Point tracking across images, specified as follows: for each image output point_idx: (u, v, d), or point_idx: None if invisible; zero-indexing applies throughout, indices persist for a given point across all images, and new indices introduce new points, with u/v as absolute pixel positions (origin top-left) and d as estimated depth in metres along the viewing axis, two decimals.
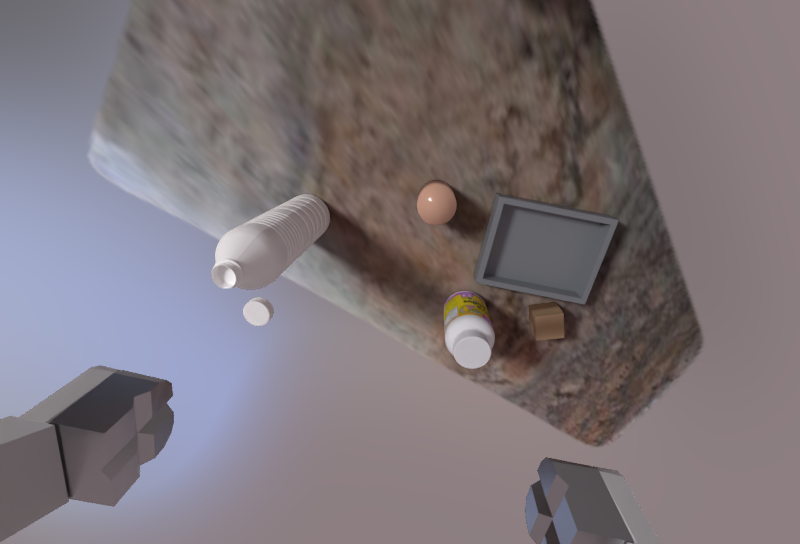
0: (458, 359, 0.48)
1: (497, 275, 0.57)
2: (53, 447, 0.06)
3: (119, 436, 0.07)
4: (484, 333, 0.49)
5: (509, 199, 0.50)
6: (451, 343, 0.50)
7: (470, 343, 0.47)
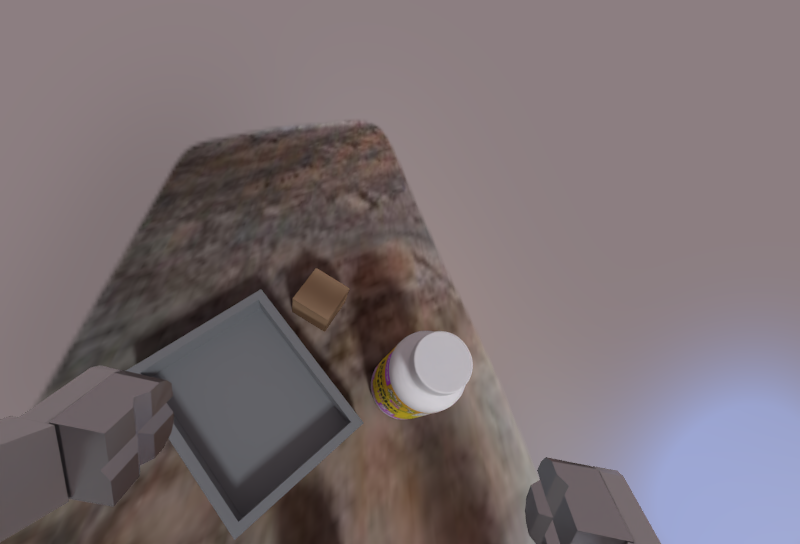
0: (469, 365, 0.29)
1: (330, 403, 0.36)
2: (53, 447, 0.06)
3: (119, 436, 0.07)
4: (405, 367, 0.30)
5: (226, 522, 0.29)
6: None
7: (437, 378, 0.28)
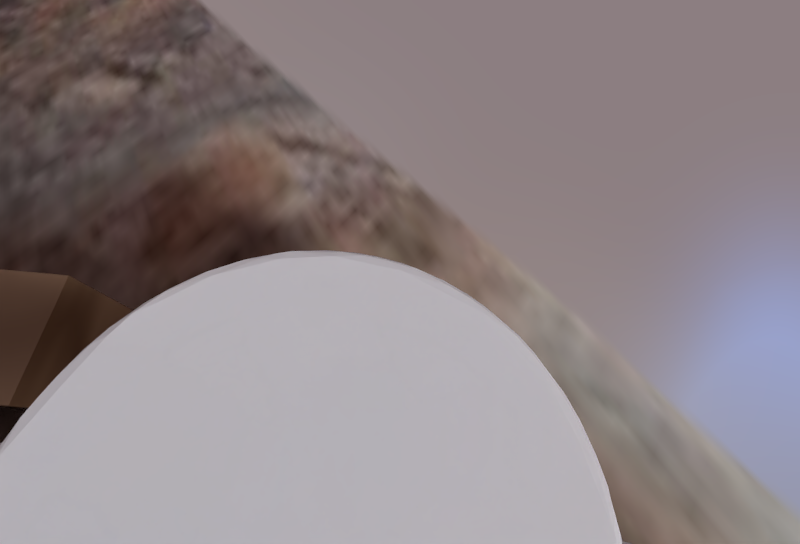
0: (559, 453, 0.03)
1: None
2: None
3: None
4: None
5: None
6: None
7: None
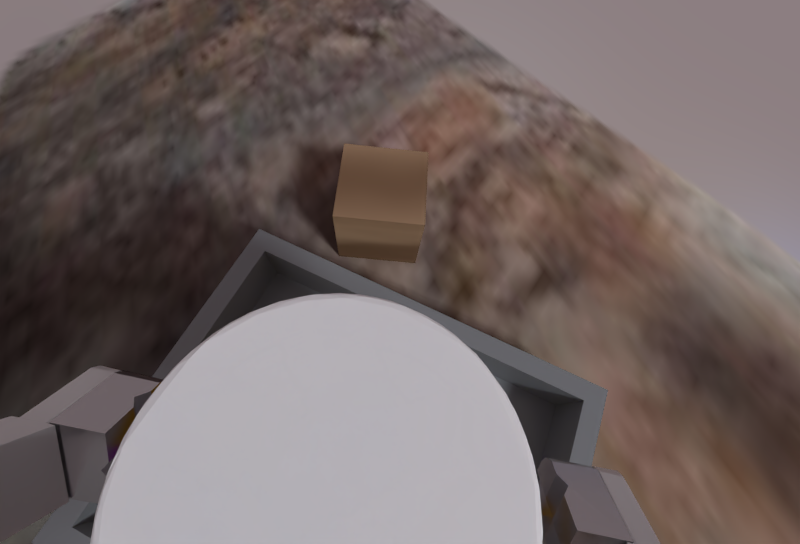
0: (500, 435, 0.04)
1: (503, 382, 0.17)
2: (53, 447, 0.06)
3: (119, 436, 0.07)
4: None
5: None
6: None
7: None
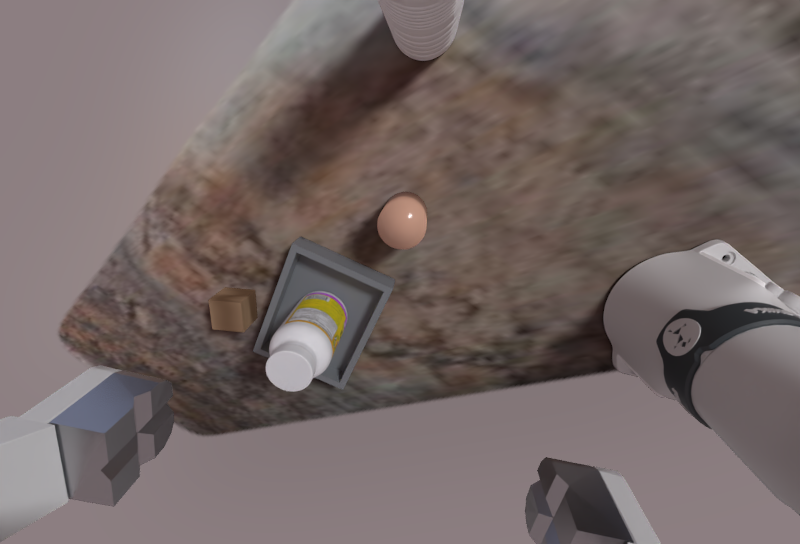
0: (280, 354, 0.36)
1: (297, 264, 0.47)
2: (53, 447, 0.06)
3: (119, 436, 0.07)
4: None
5: (387, 297, 0.45)
6: (298, 337, 0.38)
7: (302, 372, 0.37)
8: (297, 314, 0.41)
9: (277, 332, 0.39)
